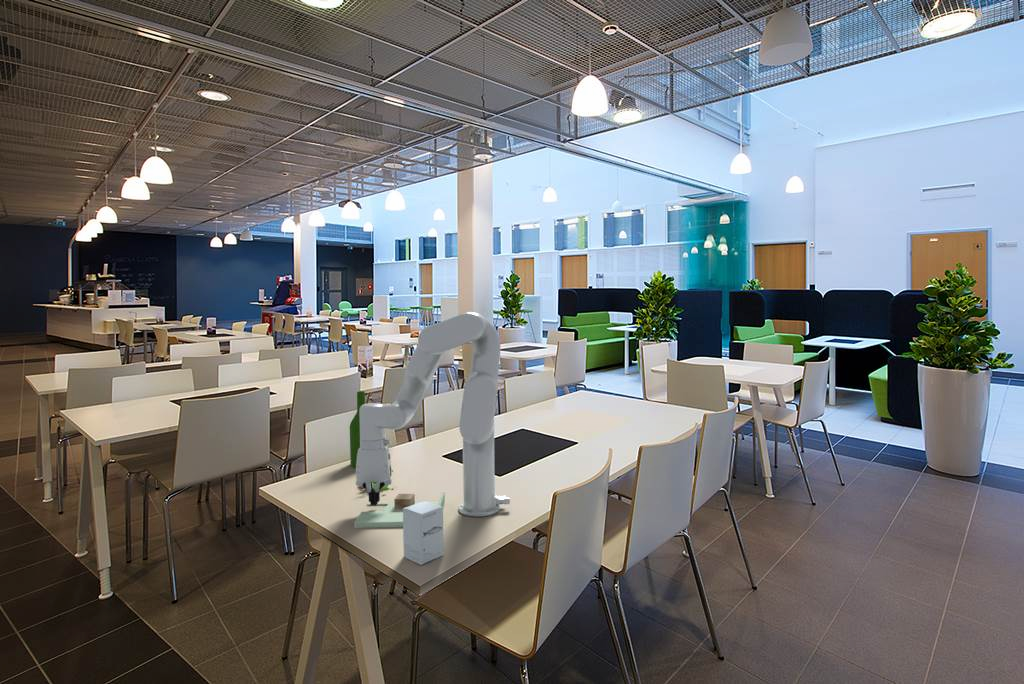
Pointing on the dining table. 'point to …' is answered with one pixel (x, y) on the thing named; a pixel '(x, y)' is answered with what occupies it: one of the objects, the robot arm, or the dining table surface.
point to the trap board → (386, 515)
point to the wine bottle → (356, 430)
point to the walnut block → (404, 500)
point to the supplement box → (423, 532)
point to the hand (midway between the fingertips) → (374, 503)
